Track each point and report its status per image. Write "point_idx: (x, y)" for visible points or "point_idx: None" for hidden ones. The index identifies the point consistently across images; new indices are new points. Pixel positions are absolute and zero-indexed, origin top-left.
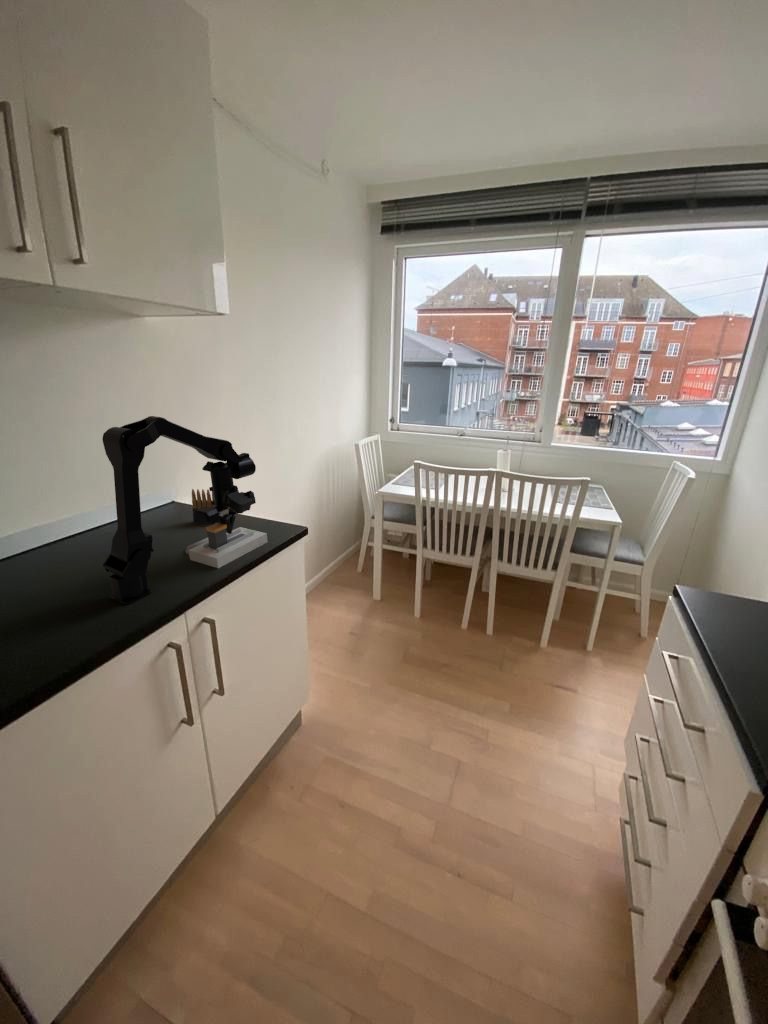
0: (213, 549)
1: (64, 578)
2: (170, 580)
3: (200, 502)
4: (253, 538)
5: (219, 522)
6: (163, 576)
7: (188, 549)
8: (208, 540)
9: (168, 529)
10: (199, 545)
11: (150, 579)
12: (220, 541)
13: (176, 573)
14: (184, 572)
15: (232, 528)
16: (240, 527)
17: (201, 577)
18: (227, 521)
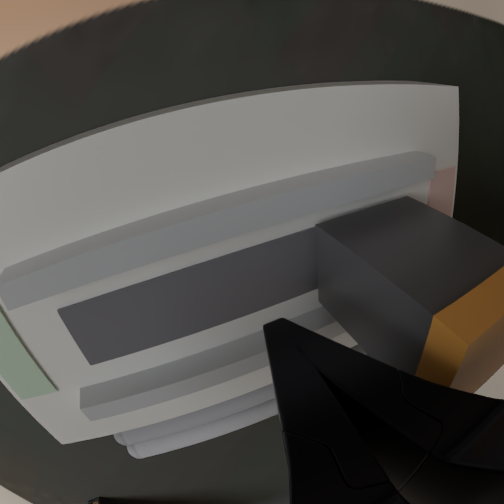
0: None
1: None
2: (498, 164)
3: None
4: (39, 189)
5: (113, 502)
6: (489, 208)
7: None
8: (265, 399)
9: (262, 495)
10: None
11: (500, 218)
12: (413, 223)
13: (475, 195)
14: (467, 179)
15: (275, 360)
16: (62, 439)
17: (468, 84)
18: (459, 401)
